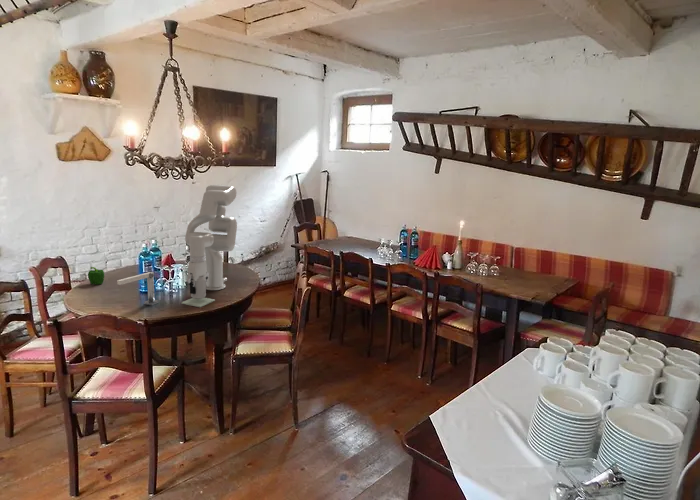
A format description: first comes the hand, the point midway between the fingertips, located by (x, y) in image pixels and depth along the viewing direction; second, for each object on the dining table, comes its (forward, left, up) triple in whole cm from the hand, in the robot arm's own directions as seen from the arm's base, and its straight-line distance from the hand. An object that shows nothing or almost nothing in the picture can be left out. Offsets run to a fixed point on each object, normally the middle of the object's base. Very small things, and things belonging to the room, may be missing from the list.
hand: (198, 291), depth 237 cm
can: (0, 0, -4) cm, 4 cm away
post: (+13, -19, -6) cm, 24 cm away
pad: (0, 0, -6) cm, 6 cm away
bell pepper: (+2, -70, -6) cm, 70 cm away
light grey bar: (+21, -20, +9) cm, 30 cm away
